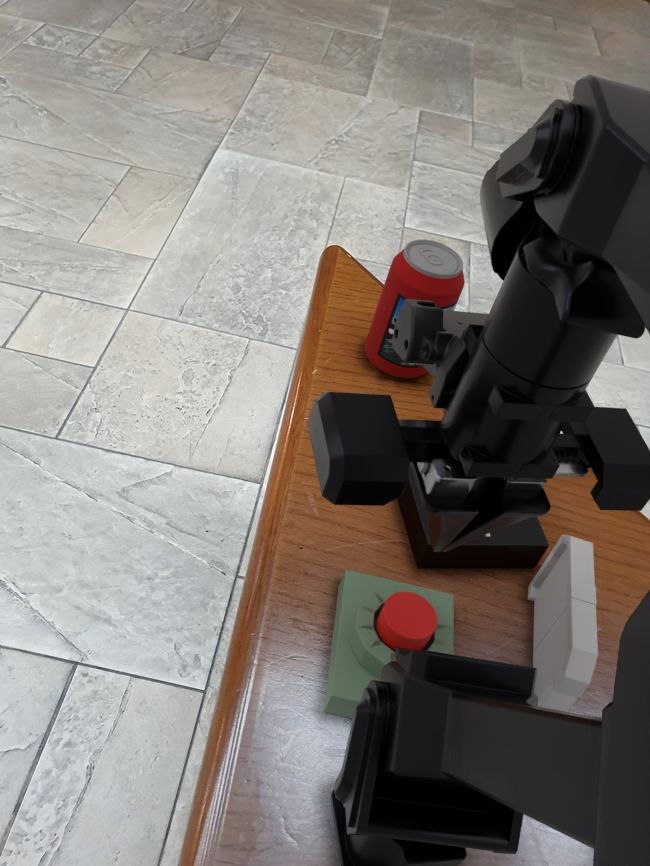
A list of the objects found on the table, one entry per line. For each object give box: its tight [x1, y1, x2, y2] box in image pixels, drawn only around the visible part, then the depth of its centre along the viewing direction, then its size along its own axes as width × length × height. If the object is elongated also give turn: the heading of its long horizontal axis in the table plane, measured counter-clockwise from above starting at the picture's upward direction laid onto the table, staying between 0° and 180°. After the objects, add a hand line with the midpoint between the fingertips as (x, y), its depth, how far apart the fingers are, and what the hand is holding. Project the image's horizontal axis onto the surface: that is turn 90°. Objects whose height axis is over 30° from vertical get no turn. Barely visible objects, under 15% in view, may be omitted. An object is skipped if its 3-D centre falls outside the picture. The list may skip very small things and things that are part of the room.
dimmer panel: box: [396, 463, 550, 569], centre depth 69 cm, size 10×10×3 cm
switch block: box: [323, 569, 455, 720], centre depth 57 cm, size 10×8×4 cm
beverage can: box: [364, 238, 466, 379], centre depth 79 cm, size 7×7×12 cm
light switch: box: [527, 533, 599, 712], centre depth 59 cm, size 2×12×8 cm, turn 168°
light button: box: [377, 592, 437, 651], centre depth 56 cm, size 4×4×2 cm
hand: (437, 545), depth 52 cm, fingers closed
